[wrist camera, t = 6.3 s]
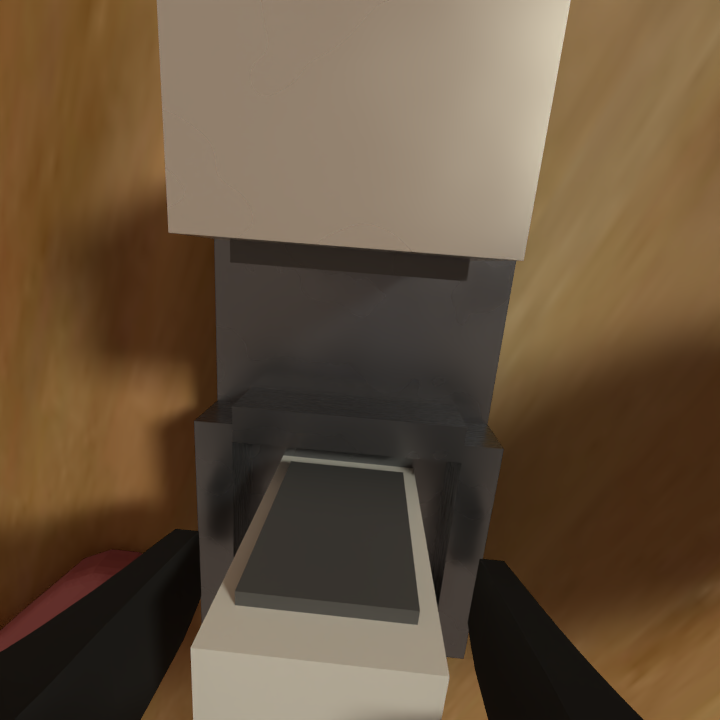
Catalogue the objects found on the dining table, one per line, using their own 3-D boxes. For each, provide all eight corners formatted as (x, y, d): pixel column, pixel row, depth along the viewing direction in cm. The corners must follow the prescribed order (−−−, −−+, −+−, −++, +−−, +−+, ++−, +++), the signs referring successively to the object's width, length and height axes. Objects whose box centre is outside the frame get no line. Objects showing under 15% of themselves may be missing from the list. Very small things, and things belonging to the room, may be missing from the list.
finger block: (398, 575, 13) (417, 844, 7) (279, 563, 13) (196, 817, 7) (414, 459, 12) (452, 661, 6) (283, 446, 12) (190, 632, 6)
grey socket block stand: (536, 29, 10) (974, -608, 3) (444, 589, 14) (511, 918, 7) (232, 9, 10) (-139, -636, 3) (237, 568, 15) (100, 869, 7)
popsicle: (-113, 734, 16) (93, 545, 13) (-71, 694, 18) (122, 516, 15) (-11, 801, 17) (205, 638, 14) (21, 758, 19) (222, 601, 16)
